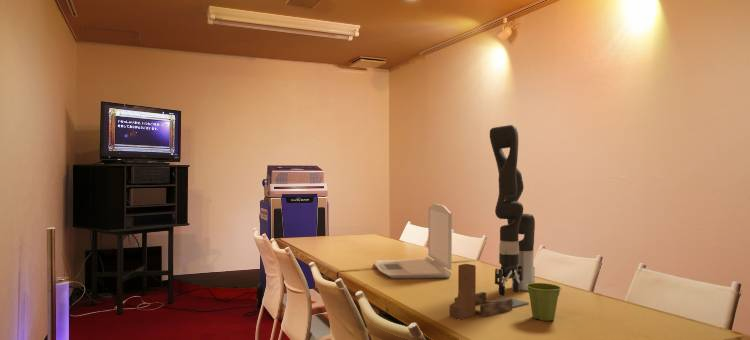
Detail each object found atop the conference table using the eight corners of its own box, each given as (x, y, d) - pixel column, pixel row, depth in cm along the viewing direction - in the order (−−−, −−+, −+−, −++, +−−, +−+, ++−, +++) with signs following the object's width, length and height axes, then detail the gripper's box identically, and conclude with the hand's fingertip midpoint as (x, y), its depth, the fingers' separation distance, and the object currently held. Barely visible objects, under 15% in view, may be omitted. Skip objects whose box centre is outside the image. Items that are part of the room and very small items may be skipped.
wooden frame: (483, 302, 196) (483, 291, 196) (512, 309, 184) (512, 299, 184) (454, 308, 186) (454, 297, 186) (483, 317, 175) (483, 305, 175)
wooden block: (458, 320, 171) (458, 268, 171) (449, 317, 174) (449, 266, 175) (475, 316, 176) (476, 265, 176) (466, 313, 180) (466, 263, 180)
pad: (505, 298, 202) (505, 296, 202) (528, 304, 193) (528, 302, 193) (489, 302, 196) (489, 300, 196) (512, 308, 187) (512, 306, 187)
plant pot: (568, 321, 170) (568, 288, 170) (539, 324, 167) (539, 290, 167) (547, 312, 181) (547, 281, 182) (519, 314, 178) (519, 283, 178)
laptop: (372, 265, 275) (372, 202, 275) (430, 264, 279) (430, 202, 279) (383, 281, 233) (383, 207, 234) (451, 279, 238) (451, 207, 238)
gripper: (512, 249, 202) (512, 289, 201) (489, 252, 193) (489, 294, 193) (528, 251, 196) (528, 293, 195) (505, 255, 187) (505, 298, 187)
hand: (508, 293), depth 194 cm, fingers open, 8 cm apart
